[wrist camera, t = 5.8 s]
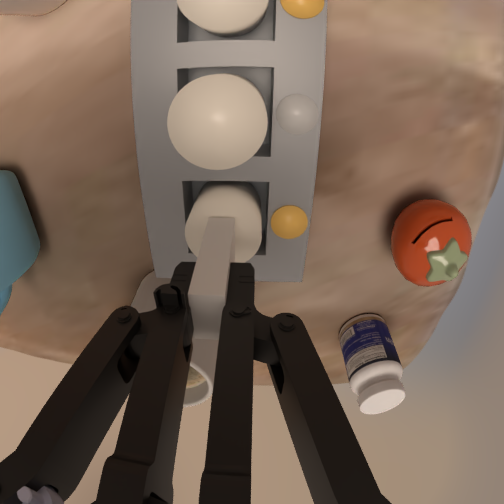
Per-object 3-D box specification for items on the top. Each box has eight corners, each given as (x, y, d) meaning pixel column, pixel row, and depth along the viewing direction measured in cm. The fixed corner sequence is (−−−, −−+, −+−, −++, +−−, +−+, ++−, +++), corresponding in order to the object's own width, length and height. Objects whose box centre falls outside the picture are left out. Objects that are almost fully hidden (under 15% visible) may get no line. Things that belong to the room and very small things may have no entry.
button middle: (187, 149, 18) (170, 170, 14) (184, 74, 15) (165, 77, 12) (264, 149, 18) (265, 170, 14) (266, 73, 15) (269, 74, 12)
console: (170, 242, 27) (155, 279, 23) (158, -37, 14) (134, -58, 9) (295, 245, 27) (302, 283, 23) (313, -40, 14) (327, -65, 9)
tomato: (434, 170, 23) (487, 213, 16) (454, 232, 26) (496, 282, 19) (365, 211, 25) (400, 267, 18) (394, 268, 28) (424, 327, 22)
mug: (234, 281, 29) (226, 369, 21) (209, 341, 34) (198, 418, 26) (125, 248, 28) (82, 325, 19) (118, 314, 33) (89, 386, 24)
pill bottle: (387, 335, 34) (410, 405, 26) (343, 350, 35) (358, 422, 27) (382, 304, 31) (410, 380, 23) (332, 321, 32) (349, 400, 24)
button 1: (198, 234, 23) (188, 265, 20) (194, 176, 21) (181, 200, 17) (260, 235, 23) (260, 268, 20) (262, 176, 21) (263, 201, 17)
